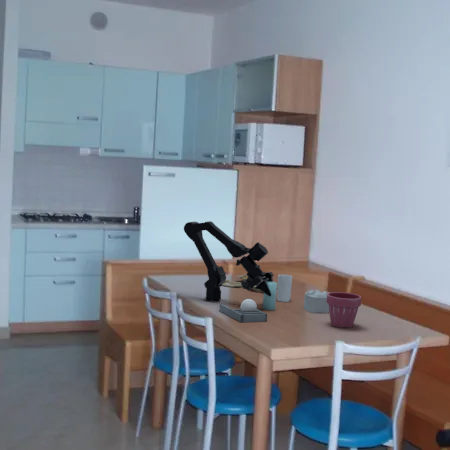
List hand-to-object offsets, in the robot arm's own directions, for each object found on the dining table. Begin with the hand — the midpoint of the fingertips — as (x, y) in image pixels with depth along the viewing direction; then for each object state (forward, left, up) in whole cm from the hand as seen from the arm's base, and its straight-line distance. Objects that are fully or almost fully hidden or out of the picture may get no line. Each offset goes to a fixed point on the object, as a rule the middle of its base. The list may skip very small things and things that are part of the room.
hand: (272, 294), depth 315 cm
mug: (+8, +23, -7) cm, 25 cm away
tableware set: (-2, +55, -7) cm, 55 cm away
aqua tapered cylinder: (-1, +1, -7) cm, 7 cm away
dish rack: (-14, -16, -7) cm, 23 cm away
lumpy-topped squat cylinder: (+21, +4, -7) cm, 22 cm away
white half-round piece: (-12, -17, -7) cm, 22 cm away
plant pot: (+27, -23, -7) cm, 36 cm away
